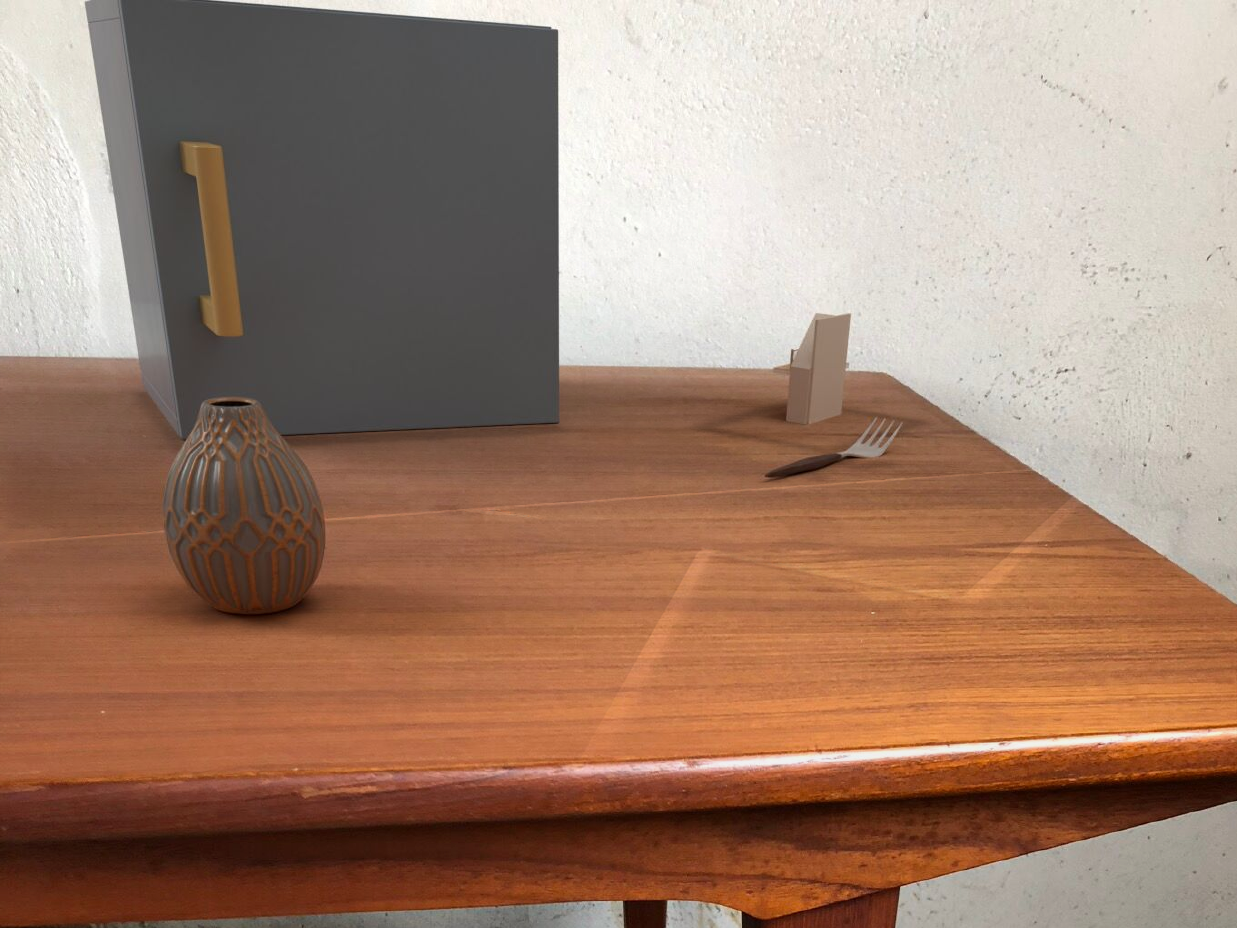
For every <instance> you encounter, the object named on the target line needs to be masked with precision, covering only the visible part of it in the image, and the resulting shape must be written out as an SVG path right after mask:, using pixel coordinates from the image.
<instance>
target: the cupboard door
mask: <svg viewBox="0 0 1237 928" xmlns="http://www.w3.org/2000/svg"><path fill="white" fill-rule="evenodd" d="M118 2H119V9H120V16H121V23H122V30H123V37H124V44H125V52H126V59H127V66H128V73H129V80H130V87H131V94H132V101H133V108H134V115H135V122H136V129H137V136H138V143H139V151H140V158H141V165H142V172H143V179H144V186H145V193H146V200H147V207H148V214H149V221H150V228H151V235H152V243H153V250H154V257H155V264H156V271H157V278H158V285H159V292H160V299H161V306H162V313H163V320H164V327H165V334H166V342H167V349H168V356H169V363H170V370H171V377H172V384H173V391H174V398H175V405H176V412H177V419H178V426H179V433H180V438H181V439H182V440H183V441H186V440H187V438H188V436H189V435H190V433H191V432H192V430H193V428H194V426H195V424H196V421H197V419H198V415H199V412H200V408H201V405H202V403H203V402H204V401H205V400H208V399H212V398H220V397H242V398H250V399H254V400H256V401H258V402H259V403H260V404H261V406H262V408H263V410H264V412H265V414H266V416H267V417H268V419H269V421H270V422H271V424H272V425H273V427H274V428H275V429H276V431H277V432H278V433H279V434H280V435H281V436H292V435H293V436H295V435H296V436H297V435H317V434H318V435H319V434H336V433H337V434H339V433H359V432H361V433H362V432H363V433H364V432H382V431H384V432H385V431H405V430H406V431H407V430H426V429H427V430H429V429H446V428H447V429H449V428H451V429H452V428H471V427H492V426H493V427H496V426H515V425H516V426H517V425H536V424H537V425H538V424H539V425H541V424H558V423H560V210H559V208H560V201H559V200H560V193H559V192H560V189H559V188H560V185H559V184H560V181H559V180H560V179H559V178H560V176H559V175H560V172H559V171H560V169H559V168H560V165H559V162H560V161H559V156H560V154H559V147H560V146H559V145H560V144H559V143H560V141H559V139H560V138H559V137H560V135H559V134H560V133H559V132H560V131H559V123H560V122H559V120H560V119H559V118H560V117H559V115H560V113H559V112H560V111H559V109H560V108H559V107H560V106H559V29H558V28H551V29H547V28H534V27H522V26H509V25H496V24H483V23H470V22H457V21H445V20H432V19H419V18H406V17H393V16H380V15H368V14H355V13H342V12H329V11H316V10H303V9H291V8H278V7H265V6H252V5H239V4H226V3H214V2H201V1H188V0H118Z"/></svg>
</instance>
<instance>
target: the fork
mask: <svg viewBox="0 0 1237 928" xmlns="http://www.w3.org/2000/svg"><path fill="white" fill-rule="evenodd" d="M877 421H878V416H876V417H875V418H874V419H873V421H872V422H871V423H870V424H869V426H868V427H867V428H866V429H865V431H864V432H863V434H862V435H861V436H860V437H859V438H858V439H857V440H856V442H854V443H853V444H852V445H851V446H850V447H849V448H848V449H846V450H845V451H840V452H835V453H827V454H821V455H814V456H810V457H809V456H808V457H805V458H802V459H799V460H797V461H793V462H791V463H788V464H786V465H783V466H781V467H777V468H775V469H772V470H770V471H769V472H767V473H766V474H764V477H765V478H768V479H770V478H778V477H783V476H788V475H791V474H797V473H800V472H801V473H802V472H806V471H812V470H817V469H820V468H823V467H824V466H827V465H829V464H831V463H833V462H835V461H838V460H840V459H842V458H844V457H855V458H860V459H875V458H879V457H881V456H882V455H883V454H884V453H885V452H886V450H887V449H888V448H889V446H890V445H891V443H892V442H893V441H894V439H895V437H896V436H897V435H898V433H899V431H900V429H901V428H902V427H903V425H904V422H903V421H901V422H900V424H899V425H898V427H897V428H896V430H895V431H893V433H892V434H891V436H890V437H889V438H888V439H887V441H886V442H885V443H884V444H883V445H882V446H881V447H880V445H881V444H882V442H883V441H884V439H885V438H886V436H887V435H888V433H889V431H890V430H891V428H893V425H894V423H895V420H894V419H893V420H892V421H891V423H890V424H889V425H888V426H887V428H886V429H885V431H884V432H883V433H882V434H881V436H880V437H879V438H878V439H877V441H876V442H875V443H874V444H872V443H873V441H874V440H875V439H876V437H877V436H878V434H879V432H880V431H881V429H882V427H883V426H884V424H885V422H886V418H884V419H883V421H882V422H881V423H880V425H879V426H878V427H877V428H876V429H875V431H874V432H873V433H872V434H871V436H870V437H869V438H868V439H867V440H866V441H865V442H864V440H865V438H866V437H867V435H868V434H869V432H870V431H871V430H872V428H873V427H874V425H875V423H876V422H877ZM863 442H864V443H863ZM871 444H872V445H871Z"/></svg>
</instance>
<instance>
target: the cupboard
mask: <svg viewBox="0 0 1237 928" xmlns="http://www.w3.org/2000/svg"><path fill="white" fill-rule="evenodd" d="M188 1H201V2H214V3H226V4H239V5H252V6H265V7H278V8H291V9H303V10H316V11H329V12H342V13H355V14H368V15H380V16H393V17H406V18H419V19H432V20H445V21H457V22H470V23H483V24H496V25H509V26H522V27H534V28H547V29H552V26H546V25H533V24H520V23H510V22H509V23H507V22H497V21H496V22H495V21H485V20H484V21H482V20H470V19H469V20H468V19H457V18H445V17H431V16H419V15H407V14H406V15H405V14H393V13H382V12H381V13H380V12H368V11H367V12H366V11H355V10H342V9H330V8H328V9H327V8H317V7H304V6H291V5H280V4H279V5H278V4H266V3H254V2H242V1H241V2H240V1H230V0H229V1H226V0H188ZM84 6H85V7H84V8H85V13H86V20H87V27H88V33H89V40H90V46H91V52H92V53H91V54H92V60H93V61H92V62H93V67H94V74H95V79H96V87H97V92H98V100H99V106H100V112H101V119H102V126H103V131H104V138H105V145H106V152H107V158H108V159H107V160H108V165H109V166H108V167H109V171H110V172H109V173H110V177H111V179H110V180H111V185H112V193H113V198H114V205H115V211H116V218H117V225H118V231H119V238H120V243H121V245H120V246H121V251H122V257H123V264H124V270H125V271H124V272H125V276H126V284H127V290H128V297H129V303H130V311H131V316H132V322H133V329H134V330H133V331H134V336H135V342H136V343H135V344H136V350H137V355H138V362H139V363H138V364H139V369H140V375H141V381H142V382H141V383H142V387H143V389H144V390H145V391H146V393H147V394H148V396H149V397H150V398H151V400H152V401H153V403H154V404H155V406H157V408H158V409H159V411H160V413H162V415H163V416H164V418H165V419H166V420H167V422H168V424H169V425H170V426H171V427H172V429H173V430H174V432H175V433H176V434H177V436H178V437H180V433H179V426H178V419H177V412H176V405H175V398H174V391H173V384H172V377H171V370H170V363H169V356H168V349H167V342H166V334H165V327H164V320H163V313H162V306H161V299H160V292H159V285H158V278H157V271H156V264H155V257H154V250H153V243H152V235H151V228H150V221H149V214H148V207H147V200H146V193H145V186H144V179H143V172H142V165H141V158H140V151H139V143H138V136H137V129H136V122H135V115H134V108H133V101H132V94H131V87H130V80H129V73H128V66H127V59H126V52H125V44H124V37H123V30H122V23H121V16H120V9H119V2H118V0H85V1H84ZM180 438H181V437H180Z"/></svg>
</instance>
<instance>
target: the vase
mask: <svg viewBox="0 0 1237 928" xmlns="http://www.w3.org/2000/svg"><path fill="white" fill-rule="evenodd" d="M162 496H163V497H162V521H163V529H164V535H165V538H166V542H167V547H168V550H169V552H170V556H171V558H172V561H173V563H174V565H175V567H176V569H177V571H178V573H179V575H180V576H181V578H182V579H183V582H184V583H186V585H187V586H188V587H189V588H190V590H192V592H193V593H194V594H196V595H197V596H198V597H199V598H200V599H201V600H203V601H204V602H205V603H206V604H208V605H209V606H210V607H212V608H214V609H216V610H218V611H220V612H224V613H228V614H236V615H263V614H271V613H276V612H277V613H278V612H281V611H285V610H289V609H290V608H292V607H294V606H296V605H297V604H299V602H301V601H302V600H303V598H304V597H305V596H306V595H307V594H308V592H309V591H310V590H311V589H312V588H313V586H314V584H315V583H316V582H317V581H316V580H317V579H318V577H319V574H320V571H321V569H322V566H323V561H324V556H325V550H326V519H325V512H324V508H323V503H322V499H321V496H320V492H319V490H318V488H317V485H316V482H315V480H314V478H313V476H312V474H311V473H310V471H309V469H308V467H307V466H306V463H305V462H304V461H303V460H302V458H301V457H300V456H299V454H297V452H296V451H295V449H293V448H292V446H291V445H290V444H289V443H288V442H287V441H286V439H285V438H284V437H283V435H280V434H279V433H278V432H277V431H276V429H275V428H274V427H273V425H272V424H271V422H270V421H269V419H268V417H267V416H266V414H265V412H264V410H263V408H262V406H261V404H260V403H259V402H258V401H256V400H254V399H250V398H242V397H220V398H212V399H208V400H205V401H204V402H203V403H202V405H201V408H200V412H199V415H198V419H197V421H196V424H195V426H194V428H193V430H192V432H191V433H190V435H189V436H188V438H187V440H184V442H183V445H182V446H181V447H180V449H179V451H178V452H177V454H176V456H175V458H174V459H173V461H172V463H171V465H170V468H169V470H168V473H167V476H166V480H165V484H164V490H163V495H162Z"/></svg>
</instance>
